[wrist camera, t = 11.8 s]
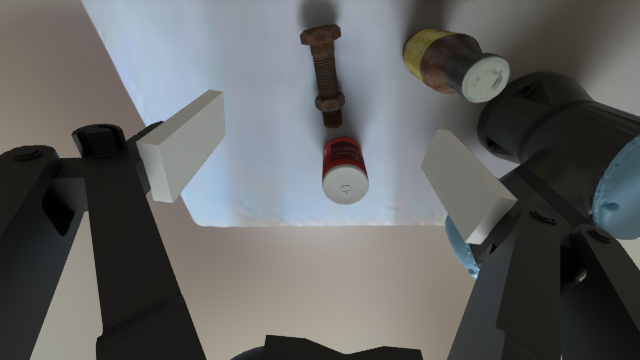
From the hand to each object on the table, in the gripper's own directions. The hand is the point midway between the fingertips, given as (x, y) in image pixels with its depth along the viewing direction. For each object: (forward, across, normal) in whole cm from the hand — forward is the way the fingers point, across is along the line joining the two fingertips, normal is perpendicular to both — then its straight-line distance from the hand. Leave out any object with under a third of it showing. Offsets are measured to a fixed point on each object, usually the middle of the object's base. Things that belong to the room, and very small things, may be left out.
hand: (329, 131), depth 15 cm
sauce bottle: (+29, -14, -3) cm, 32 cm away
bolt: (+29, 0, +4) cm, 29 cm away
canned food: (+29, -6, +17) cm, 34 cm away
